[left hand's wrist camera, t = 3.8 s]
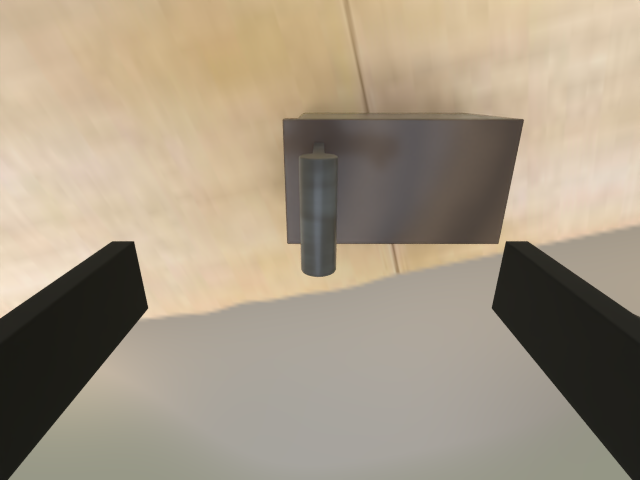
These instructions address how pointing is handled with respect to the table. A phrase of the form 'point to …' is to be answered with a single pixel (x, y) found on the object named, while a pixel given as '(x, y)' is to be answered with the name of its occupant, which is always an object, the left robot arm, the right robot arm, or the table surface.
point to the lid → (395, 182)
